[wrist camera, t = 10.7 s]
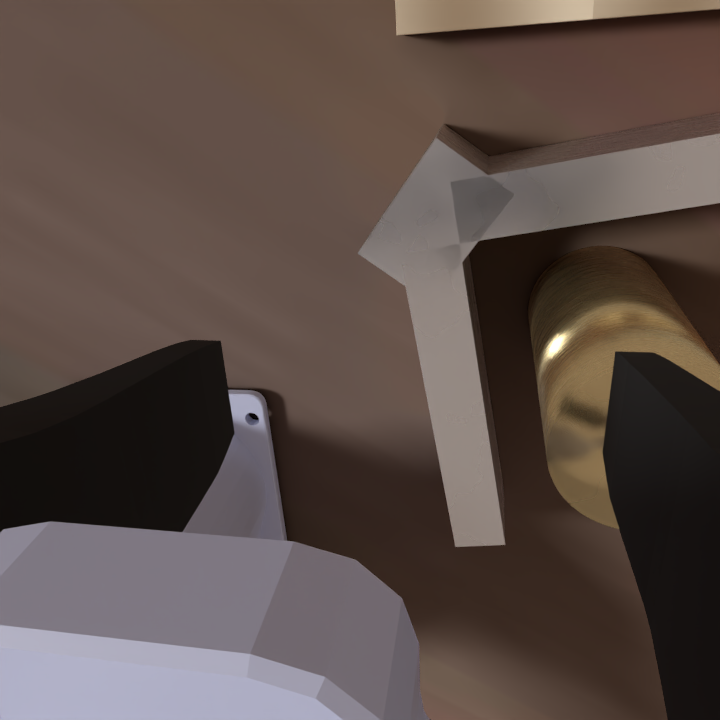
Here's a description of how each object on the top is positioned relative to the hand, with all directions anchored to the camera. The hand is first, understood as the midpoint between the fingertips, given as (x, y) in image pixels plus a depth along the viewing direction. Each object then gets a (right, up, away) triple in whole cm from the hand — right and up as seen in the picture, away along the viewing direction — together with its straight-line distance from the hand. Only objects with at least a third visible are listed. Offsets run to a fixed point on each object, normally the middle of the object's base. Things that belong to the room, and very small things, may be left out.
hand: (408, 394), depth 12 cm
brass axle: (+6, +2, +8) cm, 11 cm away
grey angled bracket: (+4, +4, +8) cm, 10 cm away
